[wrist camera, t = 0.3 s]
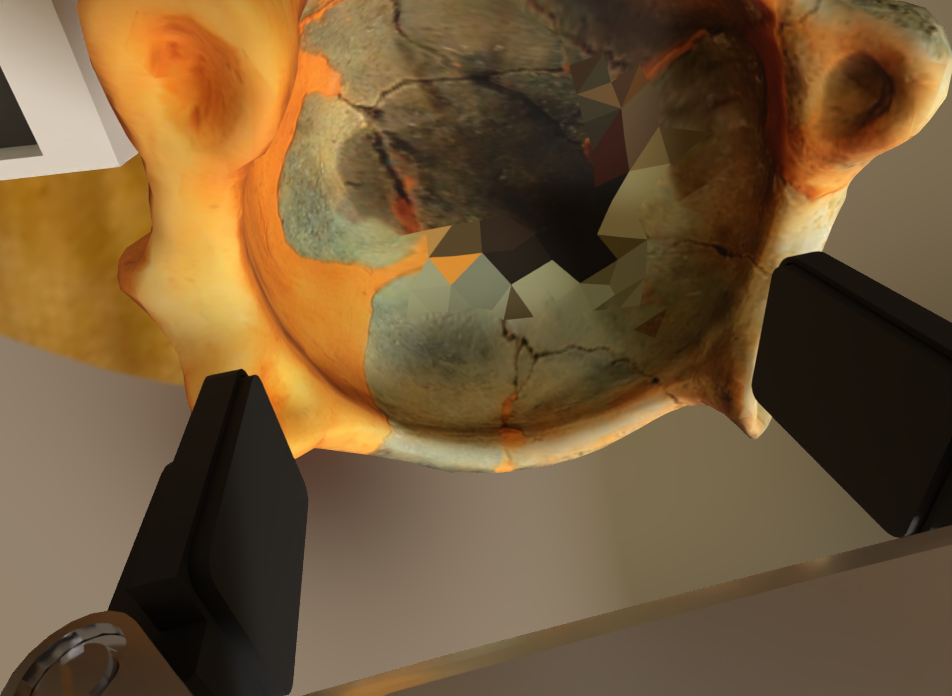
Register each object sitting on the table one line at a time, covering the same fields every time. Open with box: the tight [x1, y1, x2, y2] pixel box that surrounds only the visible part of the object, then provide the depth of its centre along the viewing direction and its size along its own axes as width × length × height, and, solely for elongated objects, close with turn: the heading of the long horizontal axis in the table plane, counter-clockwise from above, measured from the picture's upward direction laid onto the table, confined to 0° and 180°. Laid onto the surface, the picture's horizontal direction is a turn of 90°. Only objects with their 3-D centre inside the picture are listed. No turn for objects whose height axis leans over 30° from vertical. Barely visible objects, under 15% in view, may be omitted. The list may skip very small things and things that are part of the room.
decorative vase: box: [77, 0, 952, 473], centre depth 25 cm, size 21×23×28 cm
